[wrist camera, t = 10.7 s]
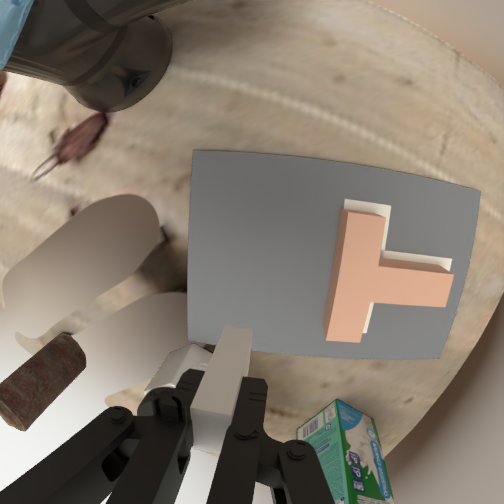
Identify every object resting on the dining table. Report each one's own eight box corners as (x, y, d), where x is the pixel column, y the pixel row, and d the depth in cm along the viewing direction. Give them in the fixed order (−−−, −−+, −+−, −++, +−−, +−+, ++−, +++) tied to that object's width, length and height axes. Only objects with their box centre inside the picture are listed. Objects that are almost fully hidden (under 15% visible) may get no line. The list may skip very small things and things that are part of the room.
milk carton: (374, 419, 38) (404, 551, 14) (334, 447, 41) (343, 571, 16) (336, 398, 38) (355, 551, 14) (295, 429, 40) (289, 568, 16)
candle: (87, 338, 41) (9, 408, 21) (94, 372, 42) (29, 444, 23) (55, 326, 41) (-21, 384, 22) (63, 360, 43) (-2, 420, 24)
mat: (194, 150, 32) (193, 150, 31) (478, 191, 29) (480, 191, 28) (189, 338, 38) (188, 340, 37) (437, 356, 34) (439, 358, 34)
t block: (340, 208, 31) (348, 212, 27) (446, 225, 30) (463, 230, 26) (322, 323, 34) (325, 340, 31) (421, 329, 33) (432, 344, 29)
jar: (238, 365, 38) (220, 427, 26) (212, 398, 40) (191, 457, 29) (180, 332, 38) (144, 386, 26) (160, 369, 40) (126, 421, 28)
